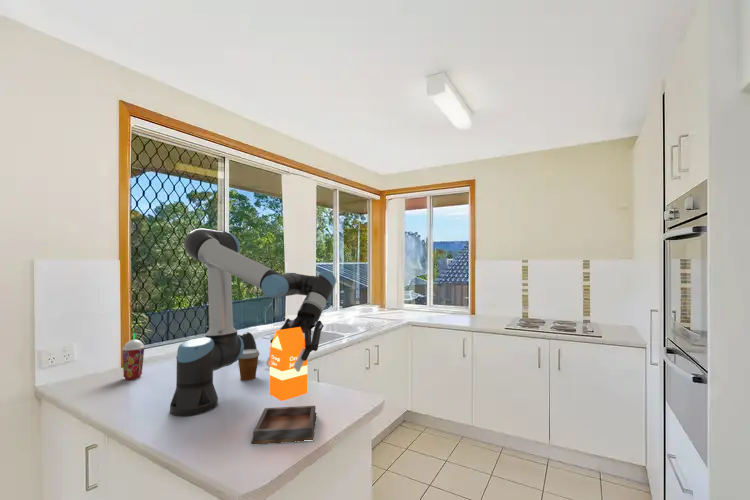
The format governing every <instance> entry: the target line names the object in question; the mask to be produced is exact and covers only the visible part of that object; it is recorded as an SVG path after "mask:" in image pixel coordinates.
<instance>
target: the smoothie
mask: <svg viewBox="0 0 750 500" xmlns="http://www.w3.org/2000/svg"><path fill="white" fill-rule="evenodd" d="M145 347H146V346H145V345H144V343H143V342H142V341H141V340H139V339H136V333H133V334H132V339H130V340H128V341H127V342H126V343H125V344H124V346H123V347H122V349H121V351H122V367H123V368H122V369H123V372H122V373H123V378H124V379H126V381H134V380H137V378H138V379H140V378H141V375H143V367H144V366H143V365H144V358H145V357H144V356H145V355H144V354H145ZM133 379H134V380H133Z"/></svg>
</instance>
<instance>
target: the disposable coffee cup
mask: <svg viewBox="0 0 750 500" xmlns="http://www.w3.org/2000/svg"><path fill="white" fill-rule="evenodd" d="M259 356H260V352H259V350H258V349H257V350H256V349H247V350H243V353H242V355H241V357H240V358H239V359H238V360H237V361H238V367H239V368H238V369H239V377H240V380H241V381H243V382H244V381H252V380H255V379H256V376H257V370H258V369H257V368H258V360H259Z"/></svg>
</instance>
